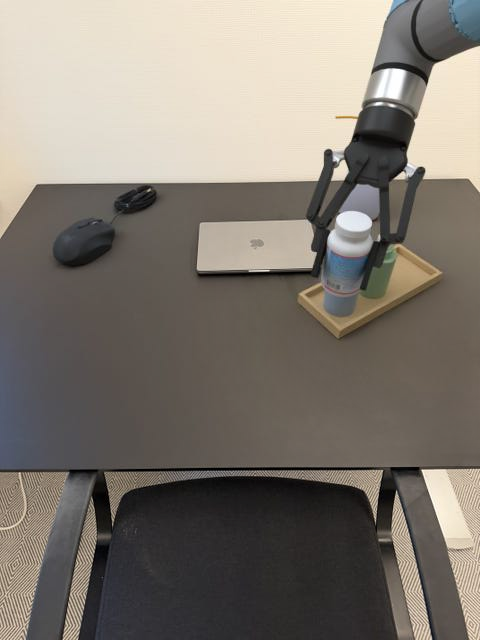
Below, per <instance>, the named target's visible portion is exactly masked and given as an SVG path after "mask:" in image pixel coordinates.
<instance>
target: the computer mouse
mask: <svg viewBox="0 0 480 640" xmlns="http://www.w3.org/2000/svg"><path fill="white" fill-rule="evenodd" d="M157 195H158V192H157V190H156V188H155V187H154V186H153V185H150V184H144V185H143V184H142V185H140V186H138V187H136V188H134V189H131V190H128V191H126V192H124V193H123V194H121V195H118V196H117V197H116V198H115V199H114V202H113V208H115V210H116V211H117V213H116V214H115V215H114V216H113V218H112V219H111V220H110V222H108V221H103V219H102V218H96V217H89V218H85V219H81V220H77V221H76V222H74V223H72V224H71V225H69V226H68V227H66V228H65V229H64V230H62V231H60V233H59V234H57V236H56V238H55V240H54V242H53V245H52V253H53V254H52V255H53V257H54V258H55V260H56V261H57V262H59V263H61V264H63V265H67V266H81V265H84V264H85V265H86V264H88V263H90V262H93V261H94V260H96V259H97V258H99V257H100V256H102V255H103V254H105V253H106V252H107V251H108V250H109V249H110V248H112V246H113V240H114V238H115V231H116V229H115V227H114V226H113V225H111V224H112V223H113V222H114V221H115V219H117V217H118V216H119V215H121V214H122V213H124V212H126V211H131V210H135V209H136V210H137V209H140V208H145V207H147V206H148V205H150V204H152V203H153V202H154V203H155V201H156V199H157Z"/></svg>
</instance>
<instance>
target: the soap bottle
mask: <svg viewBox="0 0 480 640" xmlns="http://www.w3.org/2000/svg"><path fill="white" fill-rule="evenodd" d="M334 117H335V119H337V120H338V119H353V120H357V119H358V116H355V115H337V116H336V115H335V116H334ZM348 173H349V170H348V169H347V171H346V175H345V177H346V176H347V174H348ZM346 211H357V212H361V213H364V214H366V215H367V216H368V217H370V219H371V220H372V221H375V220H376V219H377V218H378V216H379V215H380V208H379V188H374V187H372V186H370V185H360V184H357V185H356V187H355V188H354V190H352V192H351V193H350V195H349V196H348V198H347V199H346V201H345V202H344V204H343V205H342V207H341V208H340V210H339V211H338V213H339V214H341V213H343V212H346Z"/></svg>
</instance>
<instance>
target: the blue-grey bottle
mask: <svg viewBox="0 0 480 640" xmlns="http://www.w3.org/2000/svg"><path fill="white" fill-rule="evenodd" d="M358 293H359V292H358ZM358 293H357V294H355V295H352V296H349V297H337V296H334V295H332V294H330V293H328V292H327V291H326V290H325V295H324V300H323V307H324V309H325V310H326V311H327V312H328V313H329V314H331V315H333V316H337V317H345V316H348V315H350V314H352V313H353V311H354V309H355V305H356V301H357V297H358Z"/></svg>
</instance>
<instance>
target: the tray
mask: <svg viewBox="0 0 480 640" xmlns="http://www.w3.org/2000/svg"><path fill="white" fill-rule="evenodd" d="M393 246H394V249H395V250H396V252H397V259H396V262H395V265H394V268H393V272H392V275H391V278H390V281H389V284H388V288H387V291H386V294H385V295H384V296H383V297H381V298H378V299H370V298H366V297H363V296H362V295H360V294H359V293H358V297H357V301H356V305H355V309H354V311H353V313H352V314H350V315H348V316H345V317H337V316H333V315H331V314H329V313H328V312H327V311H326V310H325V309H324V307H323V300H324V295H325V289H324V288H323V286H322V284H321V282H319V283H316V284H315V285H313V286H311V287H309V288H307V289H305V290H302V291H301V292H299V293H298V296H297V303H298V304H299V305H300V306H301V307H302V308H303V309H305V310H306V311H307V312H308V313H309V314H310V315H311V316H312V317H314V319H315V320H317V321H318V322H319V323H320V324H321V325H322V326H323V327H324V328H325V329H326V330H327V331H329V332H330V333H331V334H332V335H333V336H334V337H336V339H338V340H339V339H341V338H343V337H345V336H346V335H349V333H352V332H354V331H355V330H357V329H358V328H360V327H362V326H364V325H366V324H367V323H369V322H371V321H372V320H374V319H376V318H377V317H379V316H382V315H383V314H385V313H386V312H388V311H390V310H392V309H393V308H395V307H397V306H399V305H400V304H402V303H404V302H405V301H407V300H409V299H411V298H413V297H414V296H415V295H418V294H419V293H421V292H424V291H425V290H426V289H428V288H430V287H431V286H434V285H435V284H437V283H439V282H440V280H441V277H442V275H443V272H442V271H441V270H439V269H438V268H437V267H435V266H433V265H431V264H430V263H429V262H428V261H426V260H424V259H423V258H421V257H420V256H419V255H417V254H415V253H414V252H412V251H411V250H409V249H408V248H407V247H405V246H403V245H402V244H394V245H393Z"/></svg>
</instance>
